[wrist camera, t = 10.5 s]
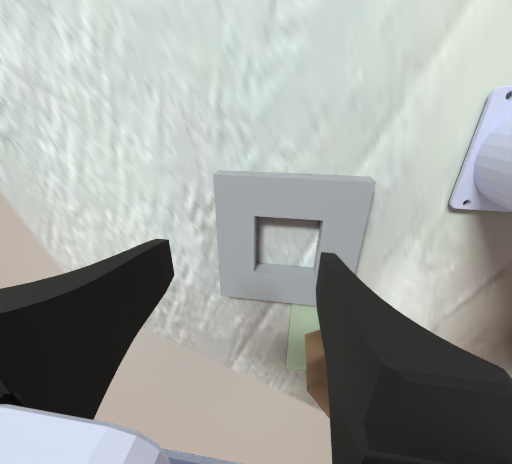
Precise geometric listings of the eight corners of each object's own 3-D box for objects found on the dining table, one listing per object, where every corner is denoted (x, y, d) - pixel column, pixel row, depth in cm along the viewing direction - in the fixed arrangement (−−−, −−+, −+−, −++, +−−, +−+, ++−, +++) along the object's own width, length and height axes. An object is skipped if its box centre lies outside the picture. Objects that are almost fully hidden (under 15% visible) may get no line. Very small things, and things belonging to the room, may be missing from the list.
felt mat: (395, 311, 24) (396, 314, 24) (372, 377, 29) (373, 380, 28) (291, 300, 25) (291, 303, 25) (285, 365, 30) (285, 368, 29)
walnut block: (344, 321, 25) (358, 378, 20) (363, 350, 26) (380, 410, 21) (304, 334, 27) (307, 390, 21) (324, 360, 28) (330, 419, 23)
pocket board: (370, 177, 19) (375, 181, 18) (343, 298, 24) (346, 309, 23) (218, 170, 20) (213, 174, 19) (225, 286, 26) (221, 295, 24)
